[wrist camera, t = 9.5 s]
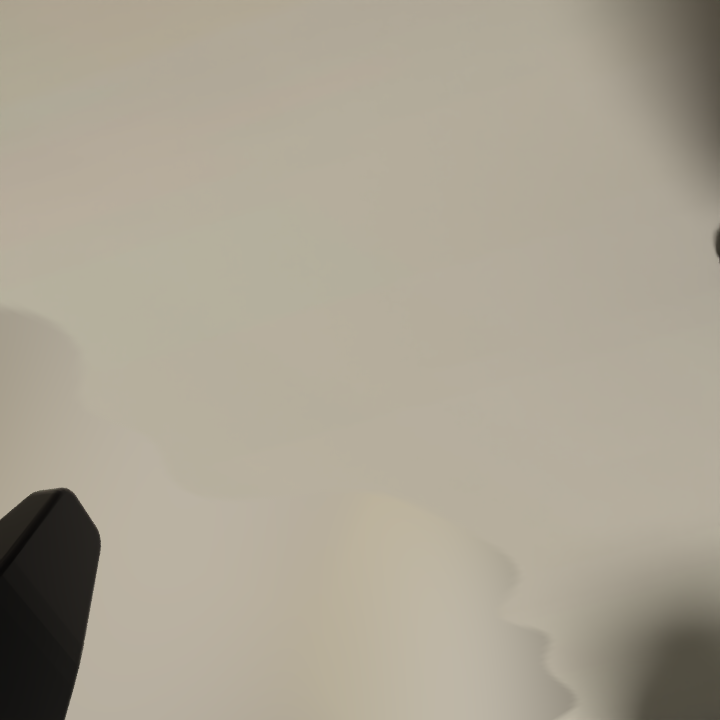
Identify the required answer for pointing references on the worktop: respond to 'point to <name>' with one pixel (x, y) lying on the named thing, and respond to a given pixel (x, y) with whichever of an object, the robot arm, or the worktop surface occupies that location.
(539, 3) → the worktop surface
